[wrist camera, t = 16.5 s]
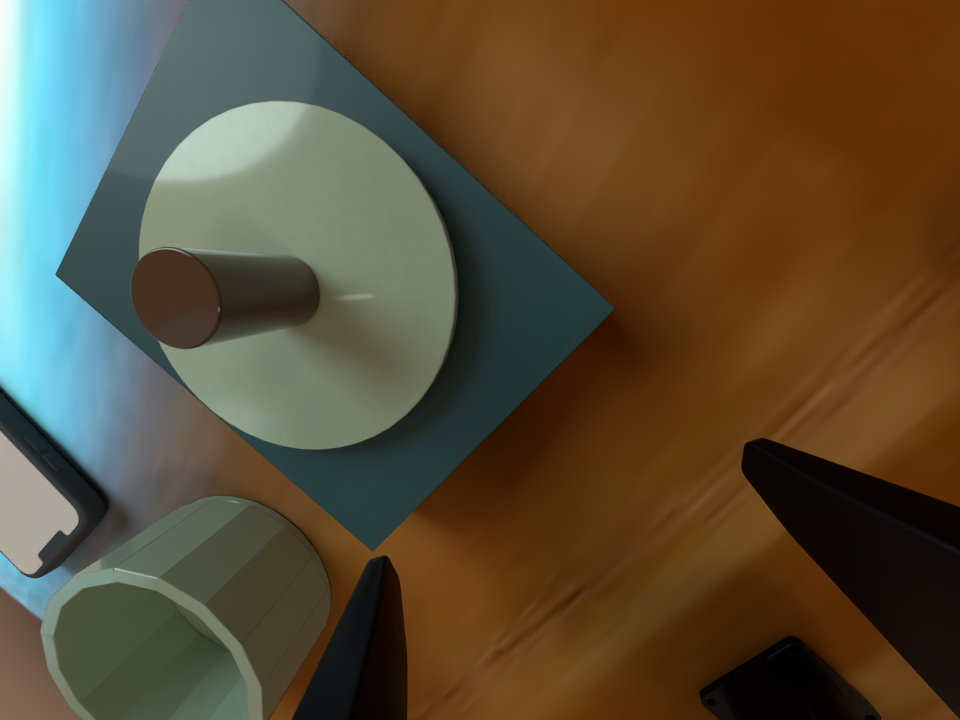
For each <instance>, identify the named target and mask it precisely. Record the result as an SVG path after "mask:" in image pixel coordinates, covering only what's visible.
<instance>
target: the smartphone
mask: <svg viewBox="0 0 960 720" xmlns="http://www.w3.org/2000/svg"><path fill="white" fill-rule="evenodd" d="M104 515H105V506H104V503H103V501H102V499H101V497H100V496H99V495H98V494H97V493H96V492H95V491H94V490H93V489H92V488H91V487H90V486H89V485H88V484H87V482H86V481H85V480H84V479H83V478H82V477H81V476H80V475H79V474H78V473H77V472H76V471H75V470H74V469H73V468H72V467H71V466H70V465H69V464H68V463H67V462H66V461H65V459H64V458H63V457H62V456H61V455H60V454H59V453H58V452H57V451H56V450H55V449H54V448H53V447H52V446H51V445H50V444H49V443H48V442H47V441H46V440H45V439H44V438H43V436H42V435H41V434H40V433H39V432H38V431H37V430H36V429H35V428H34V427H33V426H32V425H31V424H30V423H29V422H28V421H27V420H26V419H25V418H24V417H23V416H22V415H21V413H20V412H19V411H18V410H17V409H16V408H15V407H14V406H13V405H12V404H11V403H10V402H9V401H8V400H7V399H6V398H5V397H4V396H3V395H2V394H1V393H0V552H1V553H2V554H3V555H4V556H5V557H6V558H7V559H8V560H9V561H10V562H11V563H12V564H13V565H14V566H15V567H16V568H17V569H18V570H19V571H20V572H21V573H22V574H24V575H25V576H27V577H30V578H40V577H42V576H44V575H46V574H47V573H49V572H51V571H53V570H54V569H56V568H58V567H59V566H60V565H61V564H62V563H63V562H64V561H65V560H66V559H67V557H68V556H69V555H70V554H71V553H72V552H73V551H74V550H75V549H76V548H77V547H78V545H79V544H80V543H81V542H82V541H83V540H84V539H85V538H86V537H87V536H88V535H89V533H90V532H91V531H92V530H93V529H94V528H95V527H96V526H97V525H98V524H99V523H100V521H101V520H102V519H103V517H104Z"/></svg>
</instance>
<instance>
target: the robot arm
mask: <svg viewBox="0 0 960 720" xmlns="http://www.w3.org/2000/svg"><path fill="white" fill-rule="evenodd" d="M741 468H742V471H743V474H744V475H745V477H746V478H747V480H748V481H749V482H750V483H751V485H752V486H753V487H754V489H755V490H756V491H757V493H758V494H759V495H760V496H761V498H762V499H763V500H764V502H765V503H766V504H767V506H768V507H769V508H770V510H771V511H772V512H773V513H774V515H775V516H776V517H777V519H778V520H779V521H780V523H781V524H782V525H783V526H784V527H785V529H786V530H787V531H788V532H789V533H790V535H791V536H792V537H793V538H794V539H795V540H796V541H797V542H798V544H799V545H800V546H801V547H802V548H803V549H804V550H805V551H806V552H807V553H808V554H809V556H810V557H811V558H812V559H813V560H814V561H815V562H816V563H817V564H818V565H819V566H820V568H821V569H822V570H823V571H824V572H825V573H826V574H827V575H828V576H829V577H830V578H831V579H832V581H833V582H834V583H835V584H836V585H837V586H838V587H839V588H840V589H841V590H842V591H843V593H844V594H845V595H846V596H847V597H848V598H849V599H850V600H851V601H852V602H853V603H854V605H855V606H856V607H857V608H858V609H859V610H860V611H861V612H862V613H863V614H864V615H865V616H866V618H867V619H868V620H869V621H870V622H871V623H872V624H873V625H874V626H875V627H876V628H877V630H878V631H879V632H880V633H881V634H882V635H883V636H884V637H885V638H886V639H887V640H888V642H889V643H890V644H891V645H892V646H893V647H894V648H895V649H896V650H897V651H898V652H899V653H900V655H901V656H902V657H903V658H904V659H905V660H906V661H907V662H908V663H909V664H910V665H911V667H912V668H913V669H914V670H915V671H916V672H917V673H918V674H919V675H920V676H921V677H922V679H923V680H924V681H925V682H926V683H927V684H928V685H929V686H930V687H931V688H932V689H933V690H934V692H935V693H936V694H937V695H938V696H939V697H940V698H941V699H942V700H943V701H944V702H945V704H946V705H947V706H948V707H949V708H950V709H951V710H952V711H953V712H954V713H955V714H956V716H957V717H958V718H959V719H960V507H958V506H955V505H953V504H950V503H947V502H944V501H941V500H938V499H936V498H933V497H930V496H927V495H924V494H921V493H919V492H916V491H913V490H910V489H907V488H904V487H902V486H899V485H896V484H893V483H890V482H887V481H885V480H882V479H879V478H876V477H873V476H870V475H868V474H865V473H862V472H859V471H856V470H853V469H851V468H848V467H845V466H842V465H839V464H836V463H834V462H831V461H828V460H825V459H822V458H819V457H817V456H814V455H811V454H808V453H805V452H802V451H800V450H797V449H794V448H791V447H788V446H785V445H783V444H780V443H777V442H774V441H771V440H768V439H765V438H759V439H756V440H753V441H749V442H747V443H746V444H745V446H744V451H743V457H742V464H741ZM699 695H700V698H701V701H702V704H703V705H704V706H705V707H706V708H707V709H708V710H709V711H710V712H711V713H713V714H714V715H715V716H716V717H717V718H718V719H719V720H881V716H880V715H879V714H878V712H877V711H876V710H875V708H874V707H873V706H872V705H871V704H870V703H869V702H868V701H867V700H866V699H865V698H863V697H862V696H861V695H860V694H859V693H858V692H857V691H856V690H855V689H853V688H852V687H851V686H850V685H849V684H848V683H847V682H846V681H845V680H844V679H842V678H841V677H840V676H839V675H838V674H837V673H836V672H835V671H834V670H833V669H831V668H830V667H829V666H828V665H827V664H826V663H825V662H824V661H823V660H821V659H820V658H819V657H818V656H817V655H816V654H815V653H814V652H813V651H812V650H810V649H809V648H808V647H807V646H806V645H805V644H804V643H803V642H802V641H801V640H799V639H798V638H796V637H787V638H785V639H783V640H781V641H780V642H778V643H776V644H775V645H773V646H771V647H770V648H768V649H767V650H765V651H763V652H762V653H760V654H758V655H757V656H755V657H754V658H752V659H750V660H749V661H747V662H745V663H744V664H742V665H740V666H739V667H737V668H736V669H734V670H732V671H731V672H729V673H727V674H726V675H724V676H723V677H721V678H719V679H718V680H716V681H714V682H713V683H711V684H709V685H708V686H706V687H705V688H703V689H702V690H701V691H700V693H699ZM292 720H407V649H406V638H405V628H404V618H403V608H402V597H401V587H400V581H399V577H398V575H397V573H396V571H395V569H394V567H393V565H392V563H391V561H390V559H389V558H388V556H386V555H383V556H380V557H377V558H373V559H371V560H370V561H369V562H368V563H367V565H366V567H365V569H364V571H363V573H362V575H361V577H360V579H359V581H358V583H357V585H356V587H355V589H354V592H353V594H352V596H351V598H350V600H349V602H348V604H347V606H346V608H345V610H344V612H343V614H342V616H341V619H340V621H339V623H338V625H337V627H336V629H335V631H334V633H333V635H332V637H331V639H330V641H329V643H328V645H327V648H326V650H325V652H324V654H323V656H322V658H321V660H320V662H319V664H318V666H317V668H316V670H315V672H314V674H313V677H312V679H311V681H310V683H309V685H308V687H307V689H306V691H305V693H304V695H303V697H302V699H301V701H300V703H299V706H298V708H297V710H296V712H295V714H294V716H293V718H292Z"/></svg>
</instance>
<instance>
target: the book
mask: <svg viewBox="0 0 960 720" xmlns="http://www.w3.org/2000/svg"><path fill="white" fill-rule="evenodd" d="M266 101H295V102H301V103H306V104H311V105H316V106H321V107H323V108H326V109H329V110H332V111H334V112H337V113H340V114H343V115H344V116H346V117H348V118H350V119H352V120H354V121H356V122H357V123H359V124H361V125H363V126H365V127H366V128H367V129H369V130H370V131H371V132H373V133H374V134H376V135H377V136H378V137H380V138H381V139H382V140H384V141H385V142H386V143H387V144H389V145H390V146H391V147H392V148H393V149H394V150H395V151H396V152H397V153H398V154H399V155H400V156H401V157H402V158H403V159H404V160H405V161H406V162H407V163H408V164H409V165H410V167H411V168H412V169H413V170H414V172H415V173H416V174H417V175H418V177H419V178H420V179H421V180H422V182H423V183H424V185H425V186H426V188H427V190H428V191H429V193H430V195H431V196H432V198H433V200H434V201H435V203H436V205H437V207H438V209H439V212H440V214H441V216H442V218H443V221H444V223H445V225H446V228H447V231H448V234H449V237H450V241H451V244H452V247H453V251H454V257H455V262H456V268H457V275H458V295H459V298H458V311H457V321H456V326H455V331H454V336H453V340H452V344H451V346H450V349H449V352H448V355H447V358H446V361H445V363H444V365H443V367H442V369H441V371H440V373H439V375H438V376H437V378H436V380H435V382H434V383H433V385H432V386H431V387H430V389H429V390H428V392H427V393H426V394H425V396H424V397H423V398H422V399H421V400H420V401H419V402H418V403H417V405H416V406H415V407H414V408H413V409H412V410H411V411H410V412H409V413H408V414H407V415H406V416H405V417H403V418H402V419H401V420H400V421H398V422H397V423H396V424H394V425H393V426H392V427H390V428H389V429H387V430H385V431H383V432H382V433H380V434H378V435H376V436H375V437H372V438H370V439H367V440H365V441H362V442H360V443H357V444H353V445H349V446H345V447H341V448H332V449H322V450H313V449H297V448H291V447H285V446H281V445H277V444H274V443H270V442H267V441H264V440H261V439H259V438H257V437H254V436H252V435H250V434H247V433H245V432H244V431H242V430H240V429H238V428H237V427H235V426H233V425H231V424H229V423H228V422H227V421H225V420H224V419H223V418H221V417H220V416H218V415H217V414H216V413H214V412H213V411H212V410H211V409H210V408H208V407H207V406H206V405H205V404H204V403H203V402H202V401H201V400H200V399H199V398H198V397H197V396H196V395H195V394H194V393H193V392H192V391H191V390H190V389H189V387H188V386H187V385H186V384H185V383H184V382H183V380H182V379H181V378H180V376H179V375H178V373H177V372H176V371H175V369H174V368H173V367H172V365H171V363H170V362H169V360H168V358H167V356H166V355H165V353H164V351H163V349H162V348H161V346H160V343H159V341H158V340H157V339H156V338H154V337H153V336H152V335H151V334H150V333H149V332H148V331H147V330H146V329H145V327H144V326H143V325H142V323H141V322H140V320H139V318H138V317H137V314H136V312H135V310H134V307H133V304H132V299H131V292H130V284H131V277H132V273H133V271H134V268H135V266H136V264H137V263H138V261H139V239H140V230H141V222H142V218H143V214H144V210H145V206H146V202H147V199H148V197H149V194H150V191H151V189H152V186H153V184H154V181H155V179H156V178H157V176H158V174H159V172H160V170H161V169H162V167H163V165H164V163H165V162H166V160H167V159H168V158H169V157H170V155H171V154H172V153H173V151H174V150H175V149H176V147H177V146H178V145H179V144H180V143H181V142H182V141H183V140H184V139H185V138H186V137H187V136H188V135H189V134H191V133H192V132H193V131H194V130H195V129H197V128H198V127H200V126H201V125H202V124H204V123H205V122H207V121H208V120H210V119H211V118H213V117H215V116H217V115H220V114H222V113H224V112H226V111H228V110H230V109H233V108H237V107H240V106H244V105H247V104H251V103H258V102H266ZM55 275H56V276H57V277H58V278H59V279H61V280H62V281H63V282H64V283H65V284H66V285H67V286H69V287H70V288H71V289H72V290H73V291H74V292H75V293H77V294H78V295H79V296H80V297H81V298H82V299H83V300H85V301H86V302H87V303H88V304H89V305H90V306H91V307H93V308H94V309H95V310H96V311H97V312H98V313H100V314H101V315H102V316H103V317H104V318H105V319H106V320H108V321H109V322H110V323H111V324H112V325H113V326H114V327H116V328H117V329H118V330H119V331H120V332H121V333H122V334H124V335H125V336H126V337H127V338H128V339H129V340H130V341H132V342H133V343H134V344H135V345H136V346H137V347H138V348H140V349H141V350H142V351H143V352H144V353H145V354H147V355H148V356H149V357H150V358H151V359H152V360H153V361H155V362H156V363H157V364H158V365H159V366H160V367H161V368H163V369H164V370H165V371H166V372H167V373H168V374H169V375H171V376H172V377H173V378H174V379H175V380H176V381H177V382H179V383H180V384H181V385H182V386H183V387H184V388H185V389H187V390H188V391H189V392H190V393H191V394H192V395H193V396H195V397H196V398H197V399H198V400H199V401H200V402H202V403H203V404H204V405H205V406H206V407H207V408H208V409H210V410H211V411H212V412H213V413H214V414H215V415H216V416H218V417H219V418H220V419H221V420H222V421H223V422H224V423H226V424H227V425H228V426H229V427H230V428H231V429H232V430H234V431H235V432H236V433H237V434H238V435H239V436H240V437H242V438H243V439H244V440H245V441H246V442H247V443H249V444H250V445H251V446H252V447H253V448H254V449H255V450H257V451H258V452H259V453H260V454H261V455H262V456H263V457H265V458H266V459H267V460H268V461H269V462H270V463H271V464H273V465H274V466H275V467H276V468H277V469H278V470H279V471H281V472H282V473H283V474H284V475H285V476H286V477H287V478H289V479H290V480H291V481H292V482H293V483H294V484H295V485H297V486H298V487H299V488H300V489H301V490H302V491H304V492H305V493H306V494H307V495H308V496H309V497H310V498H312V499H313V500H314V501H315V502H316V503H317V504H318V505H320V506H321V507H322V508H323V509H324V510H325V511H326V512H328V513H329V514H330V515H331V516H332V517H333V518H334V519H336V520H337V521H338V522H339V523H340V524H341V525H342V526H344V527H345V528H346V529H347V530H348V531H349V532H351V533H352V534H353V535H354V536H355V537H356V538H357V539H359V540H360V541H361V542H362V543H363V544H364V545H365V546H367V547H368V548H369V549H370V550H371V551H374V550H375V549H376V548H377V547H378V546H379V545H380V544H381V543H382V542H383V541H384V540H385V539H386V538H387V537H388V536H389V535H390V534H391V533H392V532H393V531H394V530H395V529H396V528H397V527H398V526H399V525H400V524H401V523H402V522H403V521H404V520H405V519H406V518H407V517H408V516H409V515H410V514H411V513H412V512H413V511H414V510H415V509H416V508H417V507H418V506H419V505H420V504H421V503H422V502H423V501H424V500H425V499H426V498H427V497H428V496H429V495H430V494H431V493H432V492H433V491H434V490H435V489H436V488H437V487H438V486H439V485H440V484H441V483H442V482H443V481H444V480H445V479H446V478H447V477H448V476H449V475H450V474H451V473H452V472H453V471H454V470H455V469H456V468H457V467H458V466H459V465H460V464H461V463H462V462H463V461H464V460H465V459H466V458H467V457H468V456H469V455H470V454H471V453H472V452H473V451H474V450H475V449H476V448H477V447H478V446H479V445H480V444H481V443H482V442H483V441H484V440H485V439H486V438H487V437H488V436H489V435H490V434H491V433H492V432H493V431H494V430H495V429H496V428H497V427H498V426H499V425H500V424H501V423H502V422H503V421H504V420H505V419H506V418H507V417H508V416H509V415H510V414H511V413H512V412H513V411H514V410H515V409H516V408H517V407H518V406H519V405H520V404H521V403H522V402H523V401H524V400H525V399H526V398H527V397H528V396H529V395H530V394H531V393H532V392H533V391H534V390H535V389H536V388H537V387H538V386H539V385H540V384H541V383H542V382H543V381H544V380H545V379H546V378H547V377H548V376H549V375H550V374H551V373H552V372H553V371H554V370H555V369H556V368H557V367H558V366H559V365H560V364H561V363H562V362H563V361H564V360H565V359H566V358H567V357H568V356H569V355H570V354H571V353H572V352H573V351H574V350H575V349H576V348H577V347H578V346H579V345H580V344H581V343H582V342H583V341H584V340H585V339H586V338H587V337H588V336H589V335H590V334H591V333H592V332H593V331H594V330H595V329H596V328H597V327H598V326H599V325H600V324H601V323H602V322H603V321H604V320H605V319H606V318H607V317H608V316H609V315H610V314H611V313H612V312H613V311H614V310H615V307H614V306H613V305H612V304H611V303H609V302H608V301H607V300H606V299H605V298H604V297H603V296H602V295H601V294H600V293H599V292H598V291H596V290H595V289H594V288H593V287H592V286H591V285H590V284H589V283H588V282H587V281H586V280H585V279H584V278H582V277H581V276H580V275H579V274H578V273H577V272H576V271H575V270H574V269H573V268H572V267H571V266H569V265H568V264H567V263H566V262H565V261H564V260H563V259H562V258H561V257H560V256H559V255H558V254H556V253H555V252H554V251H553V250H552V249H551V248H550V247H549V246H548V245H547V244H546V243H545V242H544V241H542V240H541V239H540V238H539V237H538V236H537V235H536V234H535V233H534V232H533V231H532V230H531V229H529V228H528V227H527V226H526V225H525V224H524V223H523V222H522V221H521V220H520V219H519V218H518V217H517V216H515V215H514V214H513V213H512V212H511V211H510V210H509V209H508V208H507V207H506V206H505V205H504V204H502V203H501V202H500V201H499V200H498V199H497V198H496V197H495V196H494V195H493V194H492V193H491V192H490V191H488V190H487V189H486V188H485V187H484V186H483V185H482V184H481V183H480V182H479V181H478V180H477V179H475V178H474V177H473V176H472V175H471V174H470V173H469V172H468V171H467V170H466V169H465V168H464V167H463V166H461V165H460V164H459V163H458V162H457V161H456V160H455V159H454V158H453V157H452V156H451V155H450V154H448V153H447V152H446V151H445V150H444V149H443V148H442V147H441V146H440V145H439V144H438V143H437V142H436V141H434V140H433V139H432V138H431V137H430V136H429V135H428V134H427V133H426V132H425V131H424V130H423V129H421V128H420V127H419V126H418V125H417V124H416V123H415V122H414V121H413V120H412V119H411V118H410V117H409V116H407V115H406V114H405V113H404V112H403V111H402V110H401V109H400V108H399V107H398V106H397V105H396V104H394V103H393V102H392V101H391V100H390V99H389V98H388V97H387V96H386V95H385V94H384V93H383V92H382V91H380V90H379V89H378V88H377V87H376V86H375V85H374V84H373V83H372V82H371V81H370V80H369V79H367V78H366V77H365V76H364V75H363V74H362V73H361V72H360V71H359V70H358V69H357V68H356V67H355V66H353V65H352V64H351V63H350V62H349V61H348V60H347V59H346V58H345V57H344V56H343V55H342V54H340V53H339V52H338V51H337V50H336V49H335V48H334V47H333V46H332V45H331V44H330V43H329V42H327V41H326V40H325V39H324V38H323V37H322V36H321V35H320V34H319V33H318V32H317V31H316V30H315V29H313V28H312V27H311V26H310V25H309V24H308V23H307V22H306V21H305V20H304V19H303V18H302V17H300V16H299V15H298V14H297V13H296V12H295V11H294V10H293V9H292V8H291V7H290V6H289V5H288V4H286V3H285V2H284V1H283V0H188V2H187V4H186V6H185V8H184V10H183V13H182V15H181V17H180V19H179V21H178V23H177V25H176V27H175V29H174V31H173V33H172V35H171V37H170V39H169V41H168V43H167V45H166V48H165V50H164V52H163V54H162V56H161V58H160V60H159V62H158V64H157V66H156V68H155V70H154V72H153V74H152V76H151V78H150V80H149V83H148V85H147V87H146V89H145V91H144V93H143V95H142V97H141V99H140V101H139V103H138V105H137V107H136V109H135V111H134V113H133V115H132V118H131V120H130V122H129V124H128V126H127V128H126V130H125V132H124V134H123V136H122V138H121V140H120V142H119V144H118V146H117V148H116V150H115V153H114V155H113V157H112V159H111V161H110V163H109V165H108V167H107V169H106V171H105V173H104V175H103V177H102V179H101V181H100V183H99V185H98V188H97V190H96V192H95V194H94V196H93V198H92V200H91V202H90V204H89V206H88V208H87V210H86V212H85V214H84V216H83V218H82V221H81V223H80V225H79V227H78V229H77V231H76V233H75V235H74V237H73V239H72V241H71V243H70V245H69V247H68V249H67V251H66V253H65V256H64V258H63V260H62V262H61V264H60V266H59V268H58V270H57V272H56V274H55Z"/></svg>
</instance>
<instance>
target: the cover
mask: <svg viewBox="0 0 960 720" xmlns="http://www.w3.org/2000/svg"><path fill="white" fill-rule="evenodd" d="M130 292H131V299H132V304H133V307H134V310H135V312H136V314H137V317H138V318H139V320H140V322H141V323H142V325H143V326H144V327H145V329H146V330H147V331H148V332H149V333H150V334H151V335H152V336H153V337H154V338H156V339H157V340H158V341H159V343H160V346H161V348H162V349H163V351H164V353H165V355H166V356H167V358H168V360H169V362H170V363H171V365H172V367H173V368H174V369H175V371H176V372H177V373H178V375H179V376H180V378H181V379H182V380H183V382H184V383H185V384H186V385H187V386H188V387H189V389H190V390H191V391H192V392H193V393H194V394H195V395H196V396H197V397H198V398H199V399H200V400H201V401H202V402H203V403H204V404H205V405H206V406H207V407H208V408H210V409H211V410H212V411H213V412H214V413H216V414H217V415H218V416H220V417H221V418H223V419H224V420H225V421H227V422H228V423H229V424H231V425H233V426H235V427H237V428H238V429H240V430H242V431H244V432H245V433H247V434H250V435H252V436H254V437H257V438H259V439H261V440H264V441H267V442H270V443H274V444H277V445H281V446H285V447H291V448H297V449H313V450H322V449H332V448H341V447H345V446H349V445H353V444H357V443H360V442H362V441H365V440H367V439H370V438H372V437H375V436H376V435H378V434H380V433H382V432H383V431H385V430H387V429H389V428H390V427H392V426H393V425H394V424H396V423H397V422H398V421H400V420H401V419H402V418H403V417H405V416H406V415H407V414H408V413H409V412H410V411H411V410H412V409H413V408H414V407H415V406H416V405H417V403H418V402H419V401H420V400H421V399H422V398H423V397H424V396H425V394H426V393H427V392H428V390H429V389H430V387H431V386H432V385H433V383H434V382H435V380H436V378H437V376H438V375H439V373H440V371H441V369H442V367H443V365H444V363H445V361H446V358H447V355H448V352H449V349H450V346H451V344H452V340H453V336H454V331H455V326H456V321H457V311H458V298H459V295H458V275H457V268H456V262H455V257H454V251H453V247H452V244H451V241H450V237H449V234H448V231H447V228H446V225H445V223H444V221H443V218H442V216H441V214H440V212H439V209H438V207H437V205H436V203H435V201H434V200H433V198H432V196H431V195H430V193H429V191H428V190H427V188H426V186H425V185H424V183H423V182H422V180H421V179H420V178H419V177H418V175H417V174H416V173H415V172H414V170H413V169H412V168H411V167H410V165H409V164H408V163H407V162H406V161H405V160H404V159H403V158H402V157H401V156H400V155H399V154H398V153H397V152H396V151H395V150H394V149H393V148H392V147H391V146H390V145H389V144H387V143H386V142H385V141H384V140H382V139H381V138H380V137H378V136H377V135H376V134H374V133H373V132H371V131H370V130H369V129H367V128H366V127H365V126H363V125H361V124H359V123H357V122H356V121H354V120H352V119H350V118H348V117H346V116H344V115H343V114H340V113H337V112H334V111H332V110H329V109H326V108H323V107H321V106H316V105H311V104H306V103H301V102H295V101H266V102H258V103H251V104H247V105H244V106H240V107H237V108H233V109H230V110H228V111H226V112H224V113H222V114H220V115H217V116H215V117H213V118H211V119H210V120H208V121H207V122H205V123H204V124H202V125H201V126H200V127H198V128H197V129H195V130H194V131H193V132H192V133H191V134H189V135H188V136H187V137H186V138H185V139H184V140H183V141H182V142H181V143H180V144H179V145H178V146H177V147H176V149H175V150H174V151H173V153H172V154H171V155H170V157H169V158H168V159H167V160H166V162H165V163H164V165H163V167H162V169H161V170H160V172H159V174H158V176H157V178H156V179H155V181H154V184H153V186H152V189H151V191H150V194H149V197H148V199H147V202H146V206H145V210H144V214H143V218H142V222H141V230H140V239H139V261H138V263H137V264H136V266H135V268H134V271H133V273H132V277H131V284H130Z"/></svg>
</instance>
